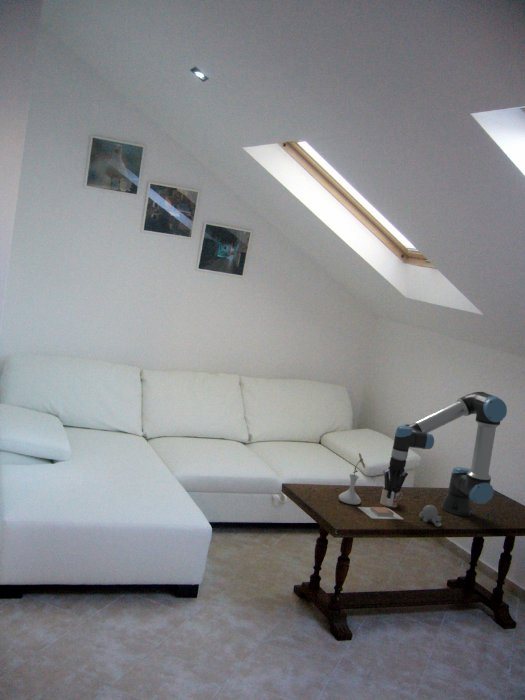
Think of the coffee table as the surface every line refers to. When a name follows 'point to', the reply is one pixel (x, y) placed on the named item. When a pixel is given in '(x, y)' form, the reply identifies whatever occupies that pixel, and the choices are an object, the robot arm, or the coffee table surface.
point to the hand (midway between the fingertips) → (389, 504)
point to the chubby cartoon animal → (430, 515)
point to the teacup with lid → (384, 498)
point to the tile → (381, 511)
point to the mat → (372, 515)
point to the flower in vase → (352, 488)
